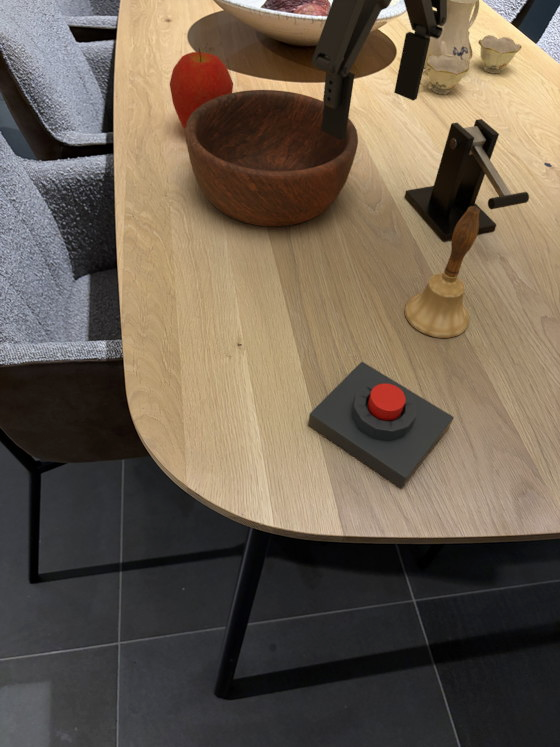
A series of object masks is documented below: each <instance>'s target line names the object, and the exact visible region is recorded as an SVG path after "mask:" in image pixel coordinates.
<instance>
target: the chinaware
mask: <svg viewBox="0 0 560 747" xmlns="http://www.w3.org/2000/svg"><path fill="white" fill-rule="evenodd" d="M479 10H480V0H447V19H446V22H445V24H444V25H443V26H439V25H438V27H441V28H442V29H443V30H442V34H441V36H440V37H439V38H438V39H436V38H433V37H430V43H429V47H428V52H427V56H426V60H425V65H424V69H423V73H426V74H427V77H428V80H429V82H425V83H422V81H421V82H420V86H427V85H428V86H427V88H428V89H429V90H432V91H433V92H434V93H435V94H440V95H447V94H449V93H451V89H453V88H454V87H456V86H457V85H458V84H459V83H460V82H461V81H462V79H463V78H464V76H465V74H467V73H468V72H469V70H470V63H471V60H472V58H473V48H472V44H471V42H470V32H471V31H470V30H469V29H470V28H471V27H472V26H473V24H474V22H475V21H476V20H477V18H478V17H477V16H478V13H479ZM471 14H472V15H471ZM477 44H478V45H479V46H480V59H481V61H482V63H483V65H484V66H483V70H484V72H487V73H490V74H499V73H501V70H500V69H502V68H505V67H506V66H508V65H509V64H510V63H511V62H512V60H513V59H514V57H515V56H516V54H517V53H518V52H520V50H521V49H522V45H521V44H519V43H515V41H514V39H512V38H510V37H508V36H507V37H506V36H504V37H499V38H498V37H496V36H494V35H490V34H489V35H486V36H484V37H483V38H482V39H479V40H478V42H477Z"/></svg>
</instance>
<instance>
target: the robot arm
mask: <svg viewBox="0 0 560 747" xmlns="http://www.w3.org/2000/svg"><path fill="white" fill-rule="evenodd" d="M391 3H392V0H332V2H331V4H330V7H329V10H328V13H327V16H326V19H325V22H324V23H323V24H324V25H323V28H322V31H321V33H320V36H319V39H318V41H317V45H316V47H315V50H314V53H313V56H312V59H311V66H312V67H313V68H316V69H317V70H319V71H321V72H324V73H325V79H324V89H323V97H322V101H323V102H324V110H323V119H322V128H321V131H323V132H325V133H327V134H329V135H331V136H333V137H335V138H338V139H340V140H342V139H344V138H345V137H346V130H347V123H348V118H349V116H350V109H351V102H352V96H353V95H352V94H353V88H354V82H355V76H356V74H355V73H352V72H350V71H351V70H352V68H353V66H354V64H355V61H356V60H357V58H358V56H359V54H360V52H361V50H362V49H363V46H364V44H365V42H366V41H367V39H368V37H369V35H370V33H371V31H372V29H373V27H374V25H375V23H376V21H377V20H378V17H379V16H380V15H381V14H380V13H381V12H382V11H383V10H385V9H387V8H388V7H389V6H390V5H391ZM403 3H404V7H405V10H406V13H407V16H408V21H409V23H410V27H411V30H412V31H414V32H412V31H408V32H406V33H405V37H404V41H403V47H402V51H401V56H400V61H399V66H398V72H397V75H396V76H397V77H396V82H395V87H394V91H393V93H394V94H396V95H399V96H401V97H403V98H406V99H408V100H411V101H415V100H417V99H418V95H419V92H420V91H419V90H420V86H421V84H420V82H421V83H422V79H423V78H422V77H423V74H424V72H423V70H424V65H425V60H426V56H427V52H428V47H429V43H430V37H433V38H436V39H438V38H439V37H440V36H441V34H442V30H443V29H442V28H441V27H438V25H439V26H443V25H444V24H445V22H446V19H447V0H403ZM433 8H434V9H433ZM435 9H436V10H435Z"/></svg>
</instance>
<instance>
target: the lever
mask: <svg viewBox="0 0 560 747" xmlns="http://www.w3.org/2000/svg"><path fill="white" fill-rule="evenodd" d="M463 128H464V129H465V130H466V131H467V132H468V133H470V134H471V135H472V136H473V137H474V141H473V144H472V147H471V150H470V153H469V155H472V154H473V155H474V157H475V158H476V160H477V161H478V163H479V165H480V166H481V168H482V170H483V171H484V173H485V176H486V178H487V179H488V181H489V182H490V184H491V186H492V187H493V189H494V190H495V192H496V194H497V196H495V197H490V198H489V199H488V200H487V207H488V209H490V210H496V209H502V208H506V207H511V206H517V205H522V204H527V203H528V202H529V200H530V195H529V193H528V192H527V191H521V192H516V193H511V191H510V190H509V188H508V186H507V185H506V183H505V182H504V180H503V178H502V177H501V175H500V174H499V172H498V170H497V169H496V168H495V166H494V164H493V162H492V161H491V159H489V158H488V156H487V155H486V153H485V151H484V150H483V148H482V147H483V145H484V143H485V141H486V139H485V138H484V136H483V135H482V133H481V131H480V130H479V128H478V127H477V126H474V125H473V126H468V127H463Z"/></svg>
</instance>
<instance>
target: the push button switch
mask: <svg viewBox="0 0 560 747" xmlns="http://www.w3.org/2000/svg"><path fill="white" fill-rule="evenodd" d="M379 384H392V385H394V386H396V387H398V388H399V389H401V390H402V392H403V393H404V395H405V404H404V407H403V410H402V413H401V415H400V416H399V417H398V418H397V419H395V420H391V421H384V420H380V419H378V418H376V417H374V416H373V415H372V414H371V413H370V411H369V409H368V401H369V397H370V394H371V391H372V389H373V388H374V387H375V386H377V385H379ZM454 418H455V417H454V416H453V415H451V414H449V413H448V412H447V411H444V410H443V409H441V408H440V407H438V406H436V405H434V403H431V402H430V401H428V400H426V399H425V398H423V397H421V396H419V394H417V393H415V392H414V391H411V390H410V389H408V388H407V387H405V386H403V385H402V384H400V383H398V382H397V381H395V380H394V379H392V378H391V377H388V376H387V375H385V374H384V373H382V372H380V371H379V370H377V369H376V368H374V367H372V366H370V365H369V364H367V363H366V362H364V361H361V362H359V364H357V365H356V367H355V368H353V370H352V371H351V372H350V373H348V375H347V376H345V378H344V379H343V380H341V382H339V384H338V385H336V386H335V387H334V389H333V390H331V392H330V393H329V394H328V395H326V396H325V397H324V398H323V399H322V400H321V401H320V403H319V404H318V405H316V407H314V409H312V410H311V411H310V412H309V415H308V422H307V426H308V427H309V428H311V429H312V430H314V431H315V432H317V433H318V434H320V435H322V436H323V437H324V438H326V439H327V440H329V441H330V442H332V443H333V444H334V445H336V446H338V447H339V448H340V449H341V450H343V451H345V452H346V453H347V454H349V455H351V456H352V457H354V458H355V459H356V460H358V461H359V462H361V463H362V464H364V465H365V466H367V467H368V468H369V469H371V470H373V471H374V472H375V473H377V474H379V475H380V476H381V477H384V479H386V480H387V481H388V482H390V483H391V484H393V485H395V486H396V487H398V488H399V489H401V490H402V489H403V488H404V487H405V486H406V484H408V482H409V480H410V479H411V478H412V476H413V475H414V474H415V473H416V471H417V470H418V469H419V468H420V466H422V464H423V462H424V461H425V460H426V459H427V458H428V456H429V454H430V453H431V452H432V451H433V449H435V447H436V446H437V445H438V444H439V442H440V441H441V440H442V438H443V437H444V436H445V434H446V433H447V431H448V430H449V429H450V427H451V424H452V423H453V420H454Z"/></svg>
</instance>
